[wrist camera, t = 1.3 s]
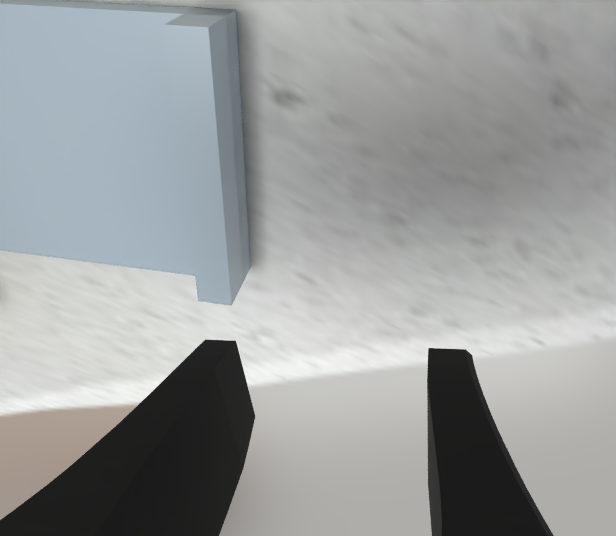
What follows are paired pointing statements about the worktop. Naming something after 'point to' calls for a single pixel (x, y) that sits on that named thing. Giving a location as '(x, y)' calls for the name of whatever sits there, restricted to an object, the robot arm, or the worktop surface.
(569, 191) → the worktop surface
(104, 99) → the light blue lipped plate
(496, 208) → the worktop surface
